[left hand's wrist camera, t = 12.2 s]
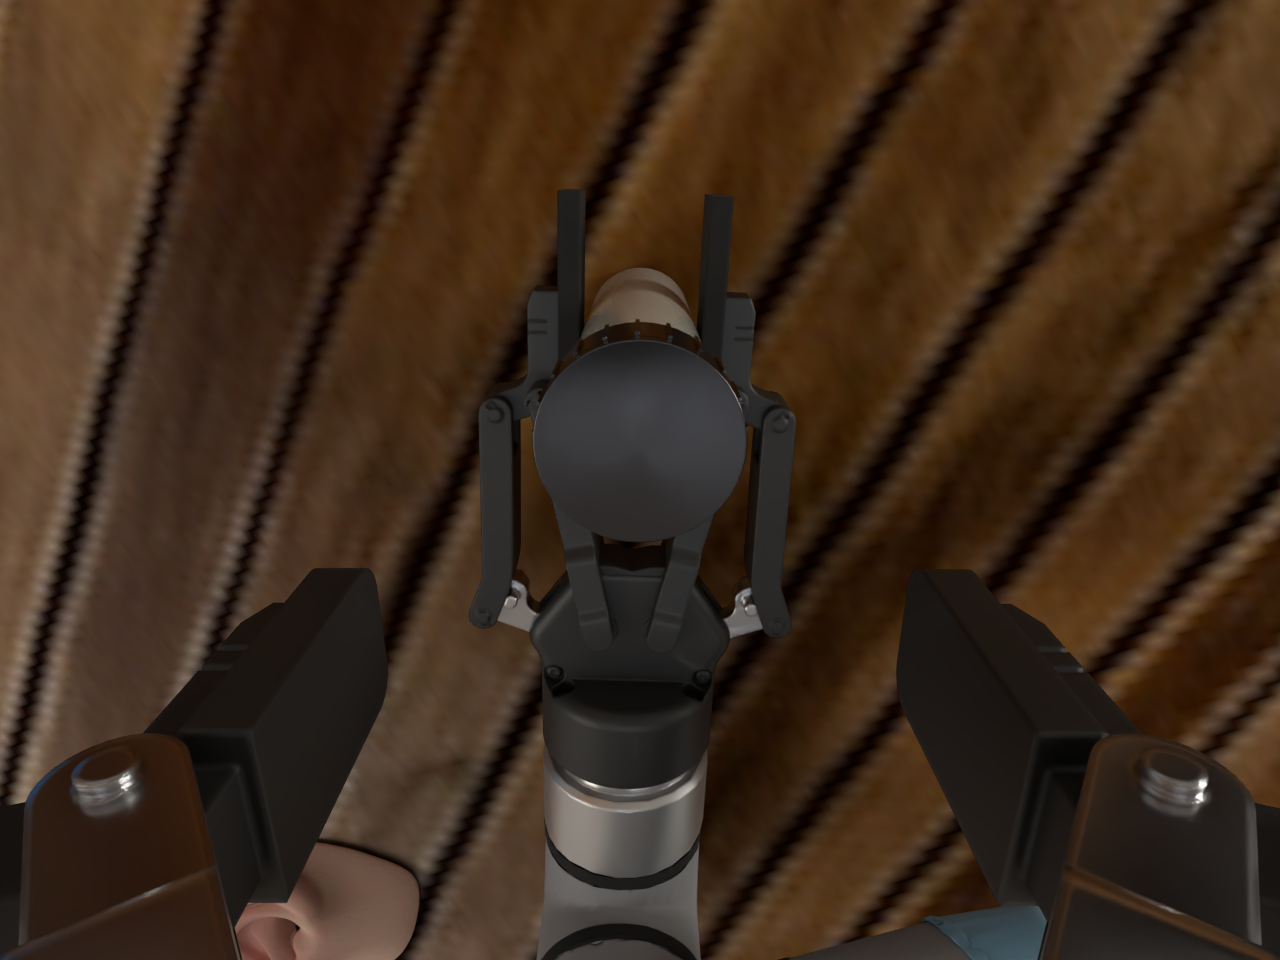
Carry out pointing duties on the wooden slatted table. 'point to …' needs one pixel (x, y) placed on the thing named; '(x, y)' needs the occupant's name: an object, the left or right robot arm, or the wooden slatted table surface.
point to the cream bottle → (639, 302)
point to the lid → (639, 433)
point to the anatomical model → (335, 911)
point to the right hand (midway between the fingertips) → (645, 194)
